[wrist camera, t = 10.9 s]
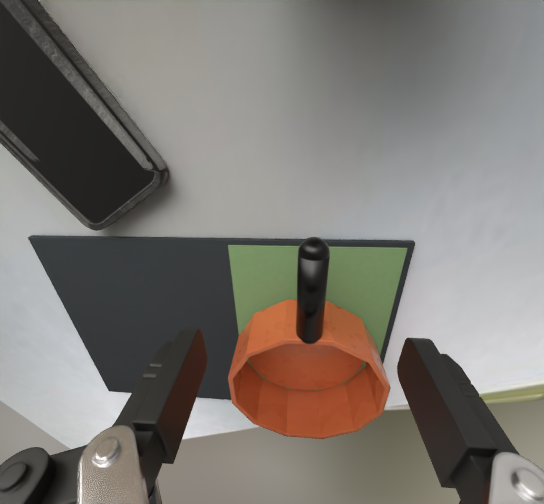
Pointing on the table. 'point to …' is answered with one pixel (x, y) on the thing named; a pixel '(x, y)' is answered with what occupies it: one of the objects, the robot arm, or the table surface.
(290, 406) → the saucepan
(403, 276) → the mat
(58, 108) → the phone
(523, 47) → the table surface
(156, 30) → the table surface
